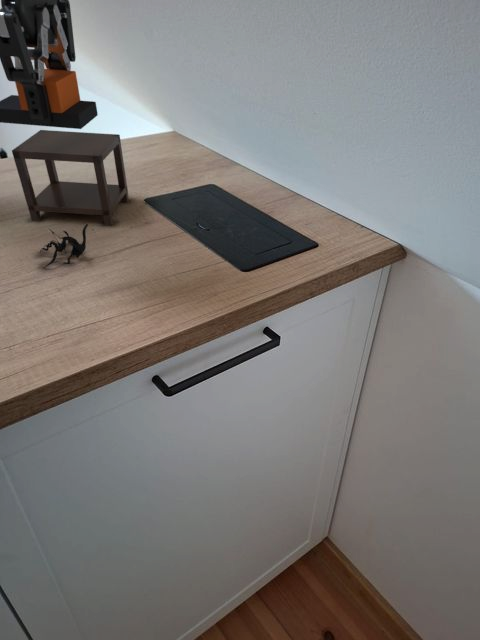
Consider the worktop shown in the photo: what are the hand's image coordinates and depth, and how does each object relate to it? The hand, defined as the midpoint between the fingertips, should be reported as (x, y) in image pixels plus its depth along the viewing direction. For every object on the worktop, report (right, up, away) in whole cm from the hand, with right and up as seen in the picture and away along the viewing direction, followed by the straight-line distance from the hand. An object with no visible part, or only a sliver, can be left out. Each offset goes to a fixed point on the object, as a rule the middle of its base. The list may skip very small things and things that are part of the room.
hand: (54, 114), depth 55 cm
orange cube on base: (-1, 0, 0) cm, 1 cm away
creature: (-7, -13, +20) cm, 25 cm away
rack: (-9, -1, +33) cm, 35 cm away
